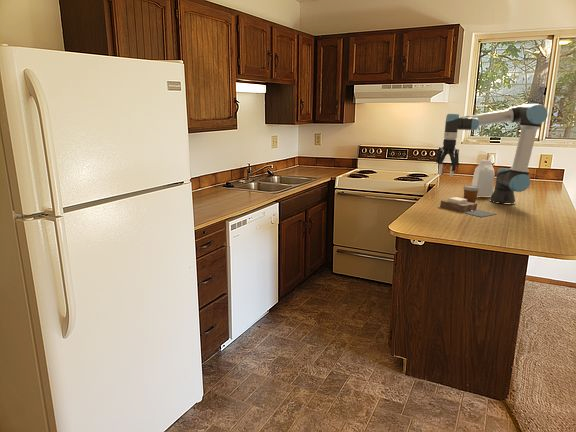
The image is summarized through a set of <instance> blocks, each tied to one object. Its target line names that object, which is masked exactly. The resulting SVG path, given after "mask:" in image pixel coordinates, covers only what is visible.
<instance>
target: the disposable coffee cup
mask: <svg viewBox="0 0 576 432" xmlns="http://www.w3.org/2000/svg"><path fill="white" fill-rule="evenodd" d="M478 191H479V187H477V186H472V184H471V185H469V184H467V185H464V187H463V199H467V202H472V203H476V200H477V198H478V197H477V193H478Z"/></svg>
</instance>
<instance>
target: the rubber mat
mask: <svg viewBox="0 0 576 432" xmlns="http://www.w3.org/2000/svg"><path fill="white" fill-rule="evenodd" d="M462 214H466V215H470V216H475V217H479V218H484V217H490V215H491V216H495V214H496V213H494V212H490V211H486V210H482V209H476V210H473V211H467V212H462Z"/></svg>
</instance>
